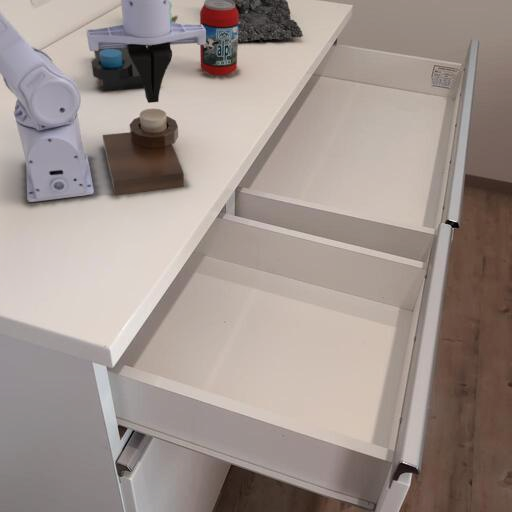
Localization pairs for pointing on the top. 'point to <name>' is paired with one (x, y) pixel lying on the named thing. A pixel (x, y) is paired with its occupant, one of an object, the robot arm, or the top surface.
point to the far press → (117, 73)
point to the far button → (111, 58)
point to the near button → (153, 120)
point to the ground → (265, 20)
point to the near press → (143, 159)
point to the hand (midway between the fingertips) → (152, 99)
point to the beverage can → (219, 37)
